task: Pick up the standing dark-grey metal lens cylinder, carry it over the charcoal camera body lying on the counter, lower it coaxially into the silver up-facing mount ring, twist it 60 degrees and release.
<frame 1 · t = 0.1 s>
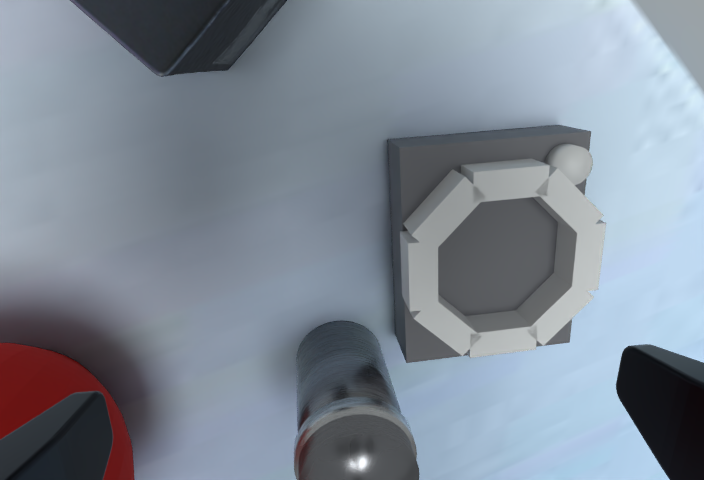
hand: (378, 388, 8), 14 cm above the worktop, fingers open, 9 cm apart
lens: (339, 358, 25), on the worktop
camera body mount: (472, 236, 23), on the worktop
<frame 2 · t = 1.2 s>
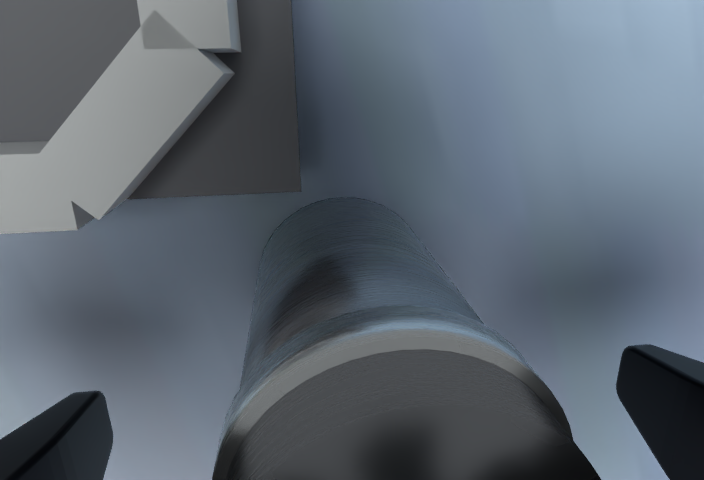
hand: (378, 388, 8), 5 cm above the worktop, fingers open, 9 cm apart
lens: (343, 278, 13), on the worktop
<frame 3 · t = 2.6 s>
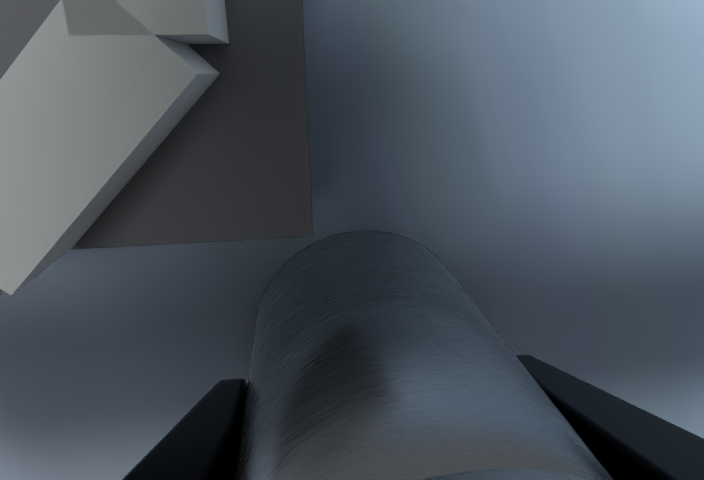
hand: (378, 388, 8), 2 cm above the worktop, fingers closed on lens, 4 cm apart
lens: (361, 329, 10), on the worktop, touching gripper
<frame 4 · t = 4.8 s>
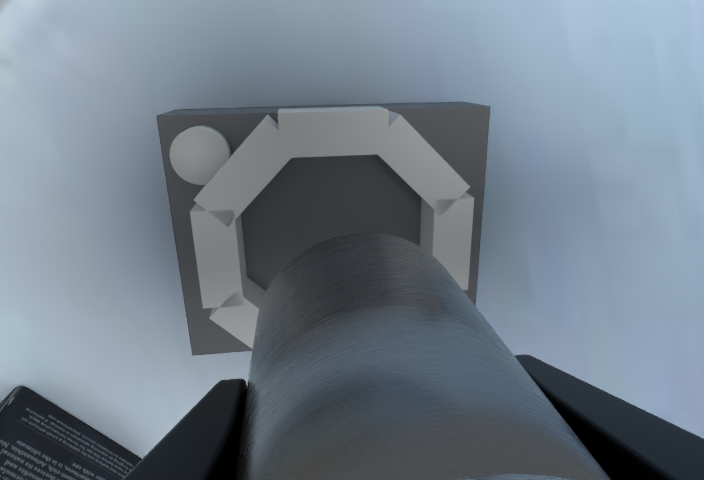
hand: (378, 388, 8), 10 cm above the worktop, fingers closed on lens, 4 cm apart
lens: (361, 331, 10), point 8 cm above the worktop, touching gripper
camera body mount: (328, 215, 18), on the worktop
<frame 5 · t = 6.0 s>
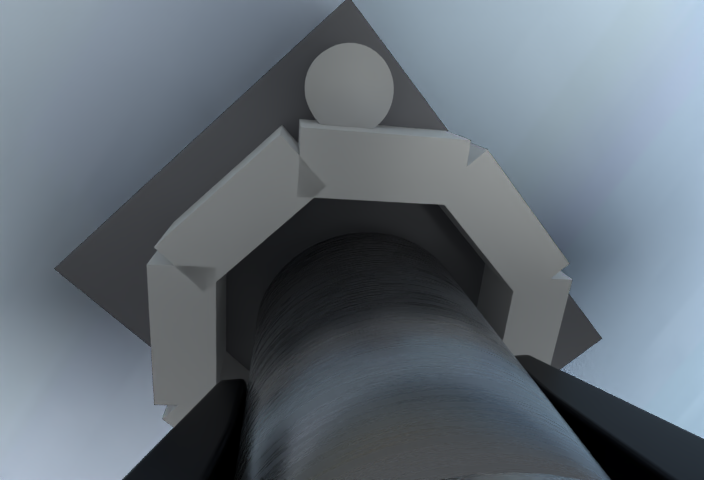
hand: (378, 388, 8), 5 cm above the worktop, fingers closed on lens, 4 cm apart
lens: (361, 330, 10), point 3 cm above the worktop, touching gripper
camera body mount: (344, 265, 13), on the worktop
when the fingers open (5 cm above the worktop, at t = 6.9 s): lens stays where it is, resting on camera body mount.
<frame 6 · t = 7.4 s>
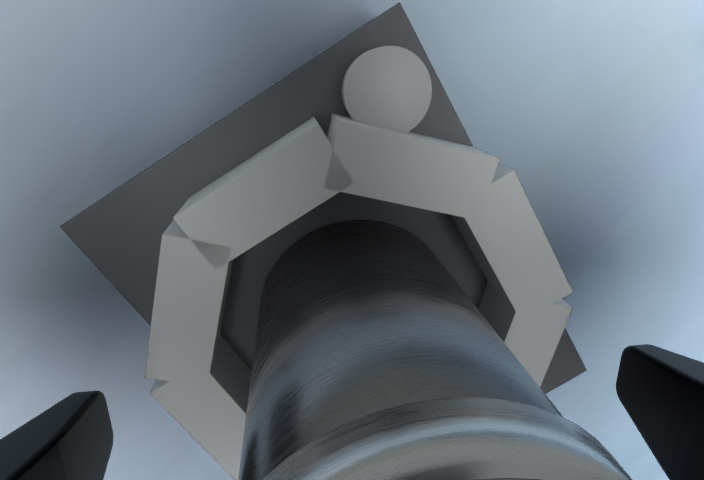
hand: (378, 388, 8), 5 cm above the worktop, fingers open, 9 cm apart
lens: (356, 310, 11), point 3 cm above the worktop, touching camera body mount
camera body mount: (345, 266, 13), on the worktop
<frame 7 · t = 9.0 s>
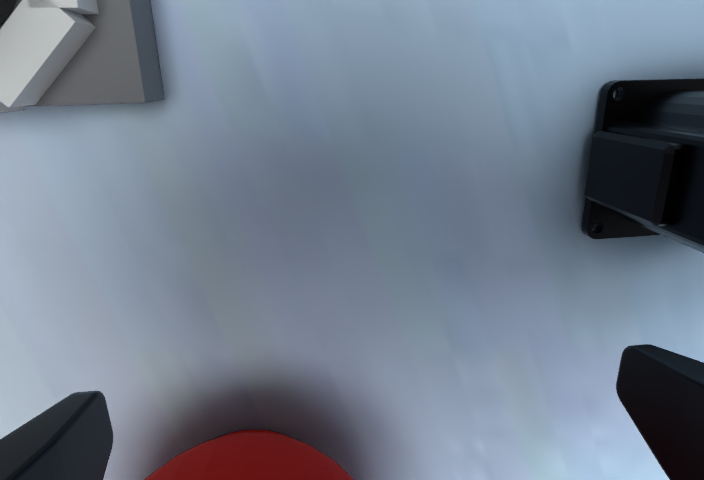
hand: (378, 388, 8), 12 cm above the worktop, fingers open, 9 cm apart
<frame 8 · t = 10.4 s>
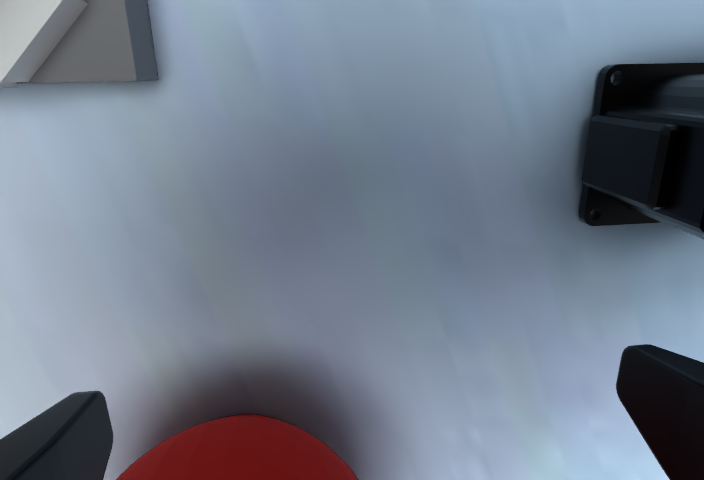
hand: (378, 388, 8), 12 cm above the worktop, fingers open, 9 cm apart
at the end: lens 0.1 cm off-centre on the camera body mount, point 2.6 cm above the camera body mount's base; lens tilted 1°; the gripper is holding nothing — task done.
